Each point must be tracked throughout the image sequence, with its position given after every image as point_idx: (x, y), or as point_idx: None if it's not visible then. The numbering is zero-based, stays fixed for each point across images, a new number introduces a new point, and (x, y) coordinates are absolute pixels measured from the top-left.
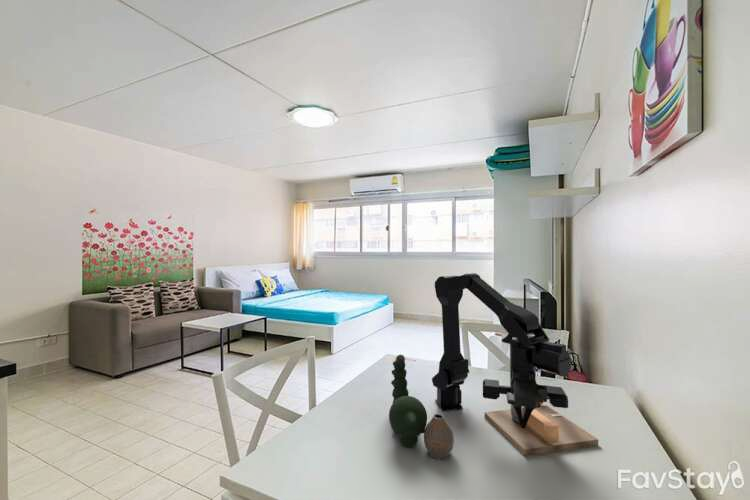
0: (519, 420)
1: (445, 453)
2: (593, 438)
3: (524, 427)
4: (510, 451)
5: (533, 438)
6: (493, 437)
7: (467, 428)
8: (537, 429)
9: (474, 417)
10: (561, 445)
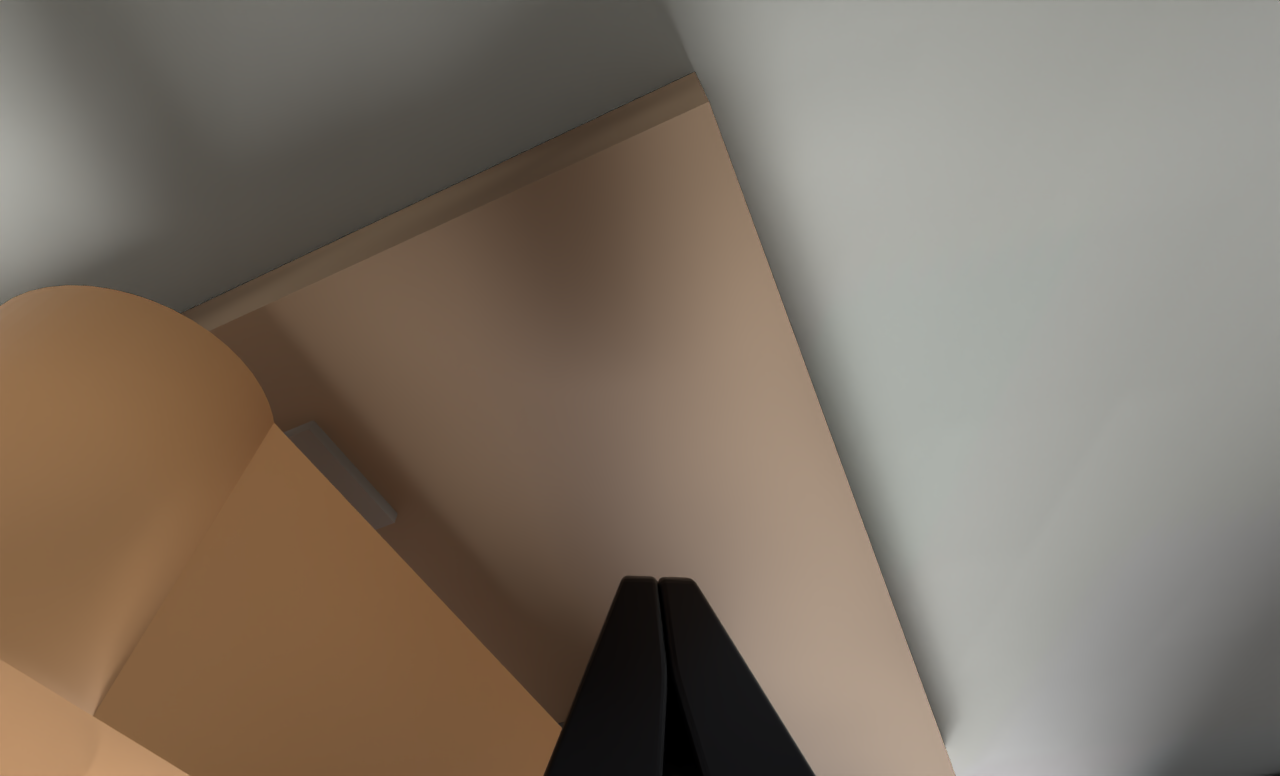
0: (771, 720)
1: None
2: None
3: (636, 586)
4: (899, 165)
5: (480, 473)
6: (1012, 457)
7: (1264, 561)
8: (376, 600)
9: (1055, 733)
10: None
